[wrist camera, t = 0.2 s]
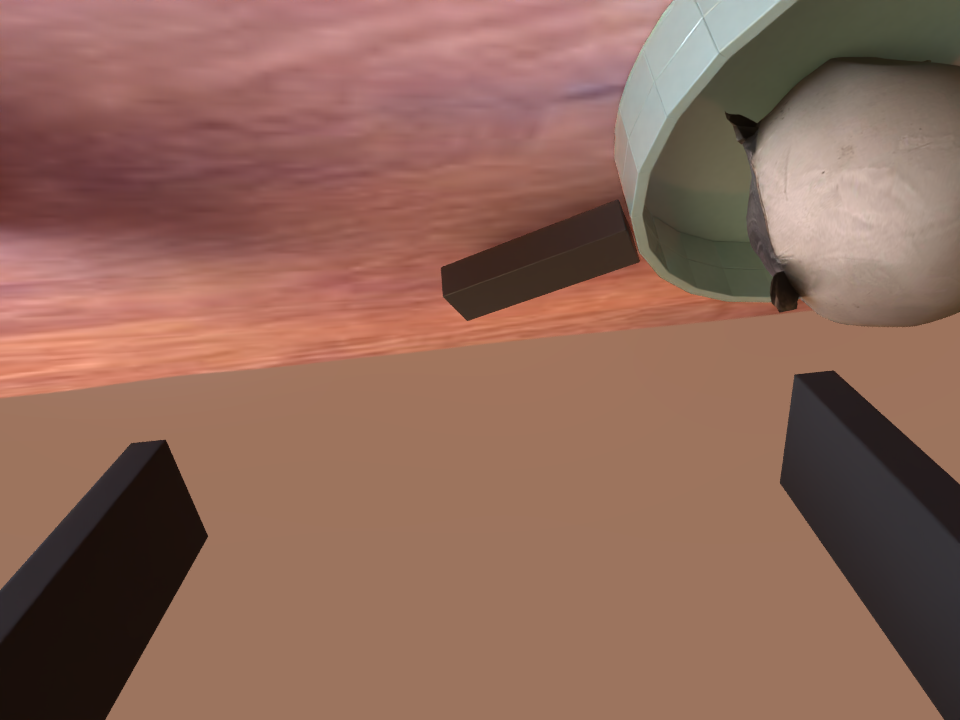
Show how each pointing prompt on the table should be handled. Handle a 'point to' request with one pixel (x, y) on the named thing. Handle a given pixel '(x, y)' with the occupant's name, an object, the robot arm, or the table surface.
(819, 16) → the pan
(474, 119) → the table surface
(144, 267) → the table surface
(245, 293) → the table surface
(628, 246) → the pan handle
